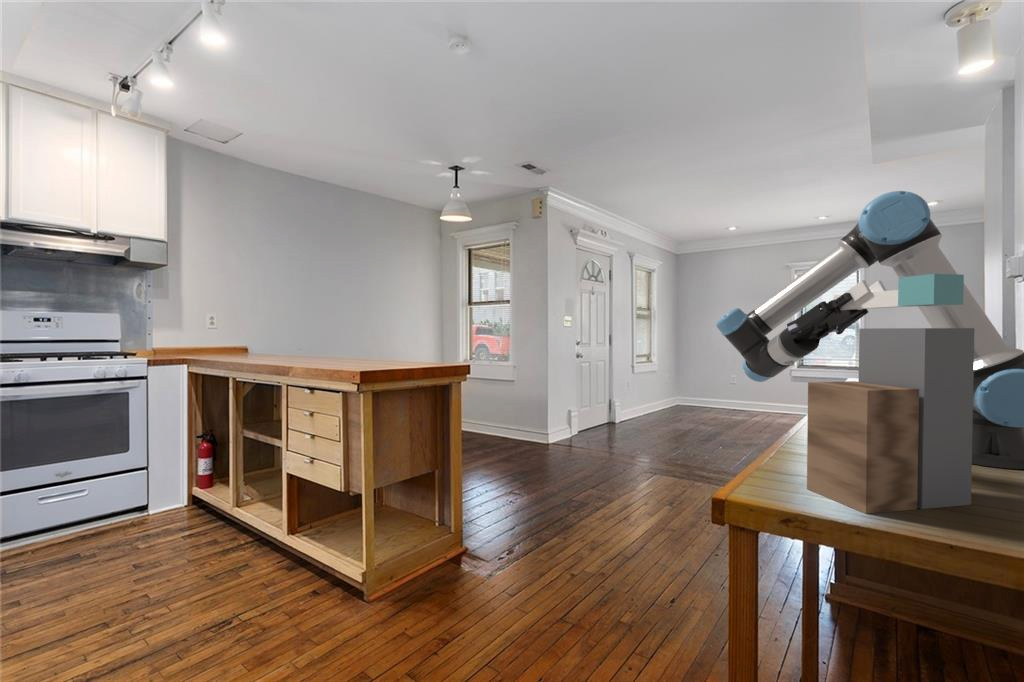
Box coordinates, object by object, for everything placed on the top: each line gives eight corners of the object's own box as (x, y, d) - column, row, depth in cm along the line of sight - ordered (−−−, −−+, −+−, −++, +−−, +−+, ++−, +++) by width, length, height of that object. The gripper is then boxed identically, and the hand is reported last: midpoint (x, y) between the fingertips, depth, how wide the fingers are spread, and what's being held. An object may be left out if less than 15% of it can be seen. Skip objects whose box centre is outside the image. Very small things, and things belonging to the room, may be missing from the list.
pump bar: (851, 309, 100) (852, 286, 99) (963, 304, 79) (963, 274, 79) (827, 309, 98) (827, 285, 98) (933, 304, 78) (934, 273, 78)
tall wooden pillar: (852, 485, 90) (854, 381, 89) (917, 509, 78) (919, 389, 77) (806, 489, 88) (808, 382, 87) (865, 513, 76) (867, 390, 76)
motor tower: (900, 482, 92) (903, 328, 91) (970, 504, 80) (974, 328, 79) (857, 485, 90) (859, 328, 89) (922, 508, 78) (925, 328, 77)
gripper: (829, 357, 111) (918, 302, 91) (769, 358, 108) (847, 301, 88) (816, 329, 115) (900, 271, 94) (758, 329, 112) (831, 269, 92)
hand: (874, 286), depth 91 cm, fingers closed on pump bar, 3 cm apart
